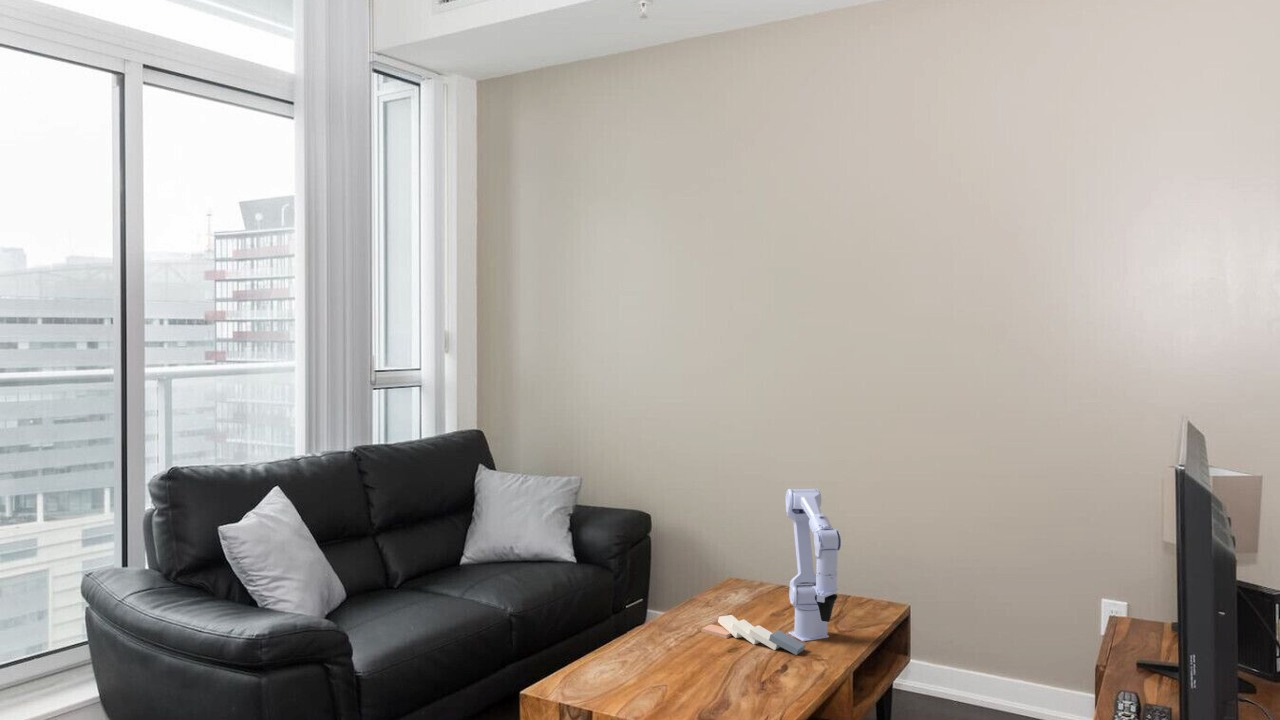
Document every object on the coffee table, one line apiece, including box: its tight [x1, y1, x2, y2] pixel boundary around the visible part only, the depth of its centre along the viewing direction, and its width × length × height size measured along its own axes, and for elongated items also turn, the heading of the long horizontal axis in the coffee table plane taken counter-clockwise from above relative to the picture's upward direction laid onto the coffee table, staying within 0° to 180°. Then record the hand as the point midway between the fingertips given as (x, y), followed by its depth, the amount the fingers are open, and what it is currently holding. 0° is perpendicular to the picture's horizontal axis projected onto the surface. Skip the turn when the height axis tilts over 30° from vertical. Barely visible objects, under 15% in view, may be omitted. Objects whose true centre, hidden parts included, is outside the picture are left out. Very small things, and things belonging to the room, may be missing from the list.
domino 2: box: [717, 614, 744, 639], centre depth 280 cm, size 2×5×9 cm
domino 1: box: [700, 623, 734, 639], centre depth 281 cm, size 2×5×9 cm
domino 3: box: [732, 618, 761, 645], centre depth 275 cm, size 2×5×9 cm
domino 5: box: [769, 629, 806, 656], centre depth 267 cm, size 2×5×9 cm
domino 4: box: [749, 624, 781, 651], centre depth 271 cm, size 2×5×9 cm
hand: (825, 620), depth 261 cm, fingers closed
